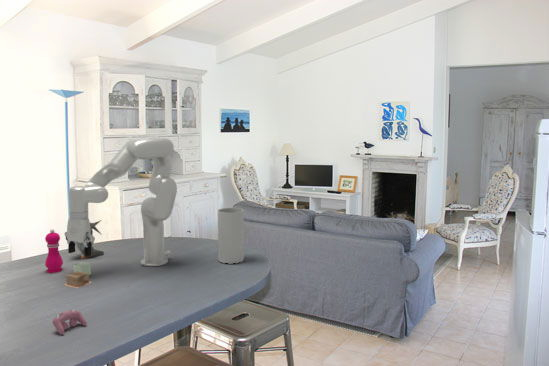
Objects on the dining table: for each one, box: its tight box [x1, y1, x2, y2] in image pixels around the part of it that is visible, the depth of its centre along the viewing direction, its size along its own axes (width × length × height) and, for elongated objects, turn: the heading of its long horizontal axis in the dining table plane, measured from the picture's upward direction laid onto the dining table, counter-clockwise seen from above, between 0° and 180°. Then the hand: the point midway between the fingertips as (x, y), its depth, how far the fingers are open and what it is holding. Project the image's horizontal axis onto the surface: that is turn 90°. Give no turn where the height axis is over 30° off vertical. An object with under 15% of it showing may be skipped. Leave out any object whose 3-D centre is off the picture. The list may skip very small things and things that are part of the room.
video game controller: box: [52, 309, 88, 336], centre depth 167 cm, size 10×5×7 cm, turn 146°
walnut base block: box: [66, 271, 90, 287], centre depth 208 cm, size 6×6×4 cm
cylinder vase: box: [217, 207, 245, 265], centre depth 243 cm, size 12×12×25 cm
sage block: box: [72, 261, 92, 276], centre depth 218 cm, size 5×5×5 cm
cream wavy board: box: [63, 281, 93, 289], centre depth 213 cm, size 17×15×1 cm
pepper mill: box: [44, 229, 64, 274], centre depth 223 cm, size 7×7×20 cm
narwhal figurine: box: [74, 219, 105, 260], centre depth 248 cm, size 14×15×18 cm
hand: (79, 254), depth 217 cm, fingers open, 9 cm apart
